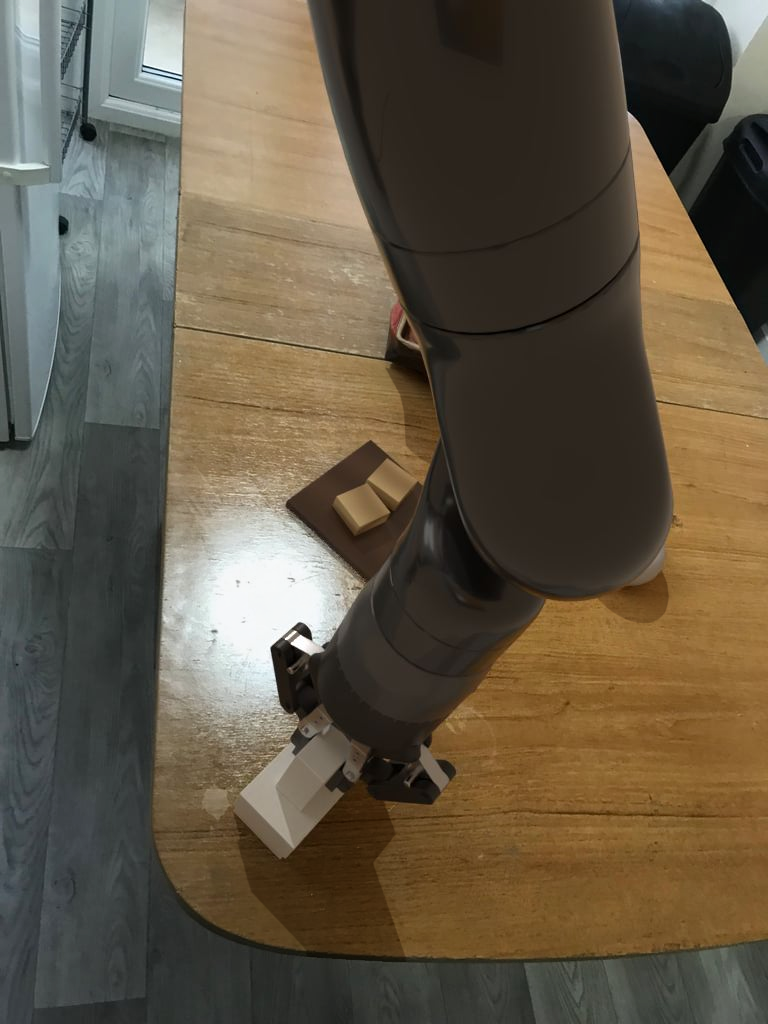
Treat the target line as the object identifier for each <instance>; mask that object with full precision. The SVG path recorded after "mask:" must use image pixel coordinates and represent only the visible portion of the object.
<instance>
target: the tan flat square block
mask: <svg viewBox="0 0 768 1024" xmlns="http://www.w3.org/2000/svg"><path fill="white" fill-rule="evenodd" d="M332 506H333V508H334V509H335V510H336V512H337V513H338V514H339V516H340V517H341V518H342V520H343V521H344V522H345V523H346V525H347V526H348V527H349V529H350V530H351V531H352V533H353V534H354V535H355V536H356V535H358V534H361V533H363V532H365V531H367V530H369V529H371V528H373V527H375V526H377V525H380V524H382V523H384V522H385V521H386V520H387V518H388V516H389V514H390V511H389V510H388V509H387V508H386V506H385V505H384V504H383V502H382V501H381V500H380V499H379V497H378V496H377V495H376V494H375V492H374V491H373V490H372V488H371V487H370V486H369V485H368V483H366V484H364V485H362V486H360V487H357V488H355V489H353V490H350V491H348V492H346V493H343V494H341V495H339V496H337V497H336V499H335V501H334V503H333V505H332Z"/></svg>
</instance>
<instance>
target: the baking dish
mask: <svg viewBox="0 0 768 1024" xmlns="http://www.w3.org/2000/svg"><path fill="white" fill-rule="evenodd" d="M383 360H384V361H387V362H390V363H393V364H396V365H399V366H402V367H405V368H409V369H412V370H415V371H418V372H420V373H421V374H423V375H424V376H425V377H426V378H427V379H429V377H428V374H427V370H426V367H425V363H424V360H423V357H422V353H421V350H420V347H419V345H418V342H417V339H416V337H415V335H414V333H413V331H412V329H411V327H410V325H409V323H408V321H407V319H406V317H405V314H404V312H403V310H402V308H401V306H400V303H399V301H398V300H397V302H396V303H395V305H394V306H393V307H392V309H391V311H390V316H389V326H388V335H387V341H386V346H385V353H384V359H383Z"/></svg>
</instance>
